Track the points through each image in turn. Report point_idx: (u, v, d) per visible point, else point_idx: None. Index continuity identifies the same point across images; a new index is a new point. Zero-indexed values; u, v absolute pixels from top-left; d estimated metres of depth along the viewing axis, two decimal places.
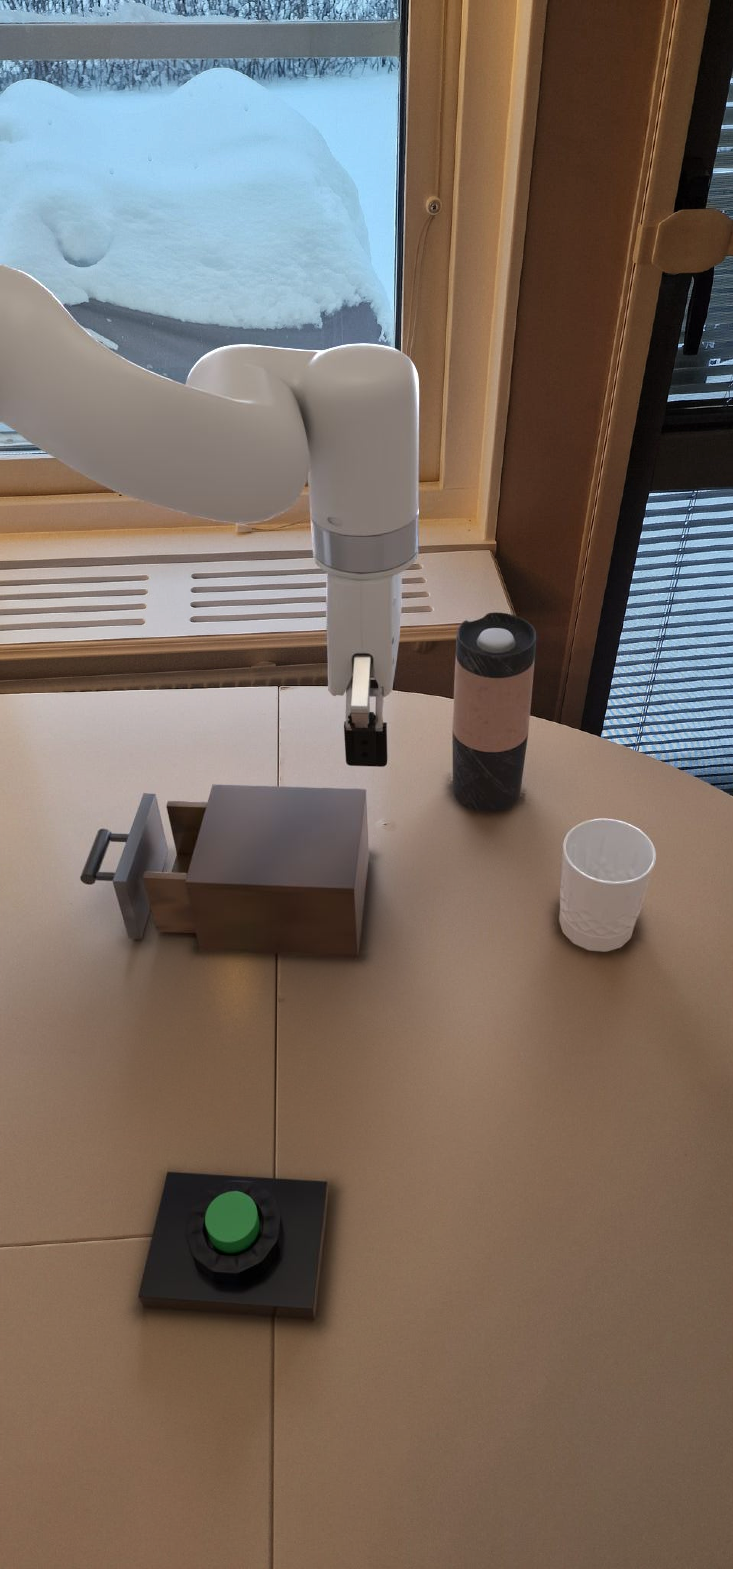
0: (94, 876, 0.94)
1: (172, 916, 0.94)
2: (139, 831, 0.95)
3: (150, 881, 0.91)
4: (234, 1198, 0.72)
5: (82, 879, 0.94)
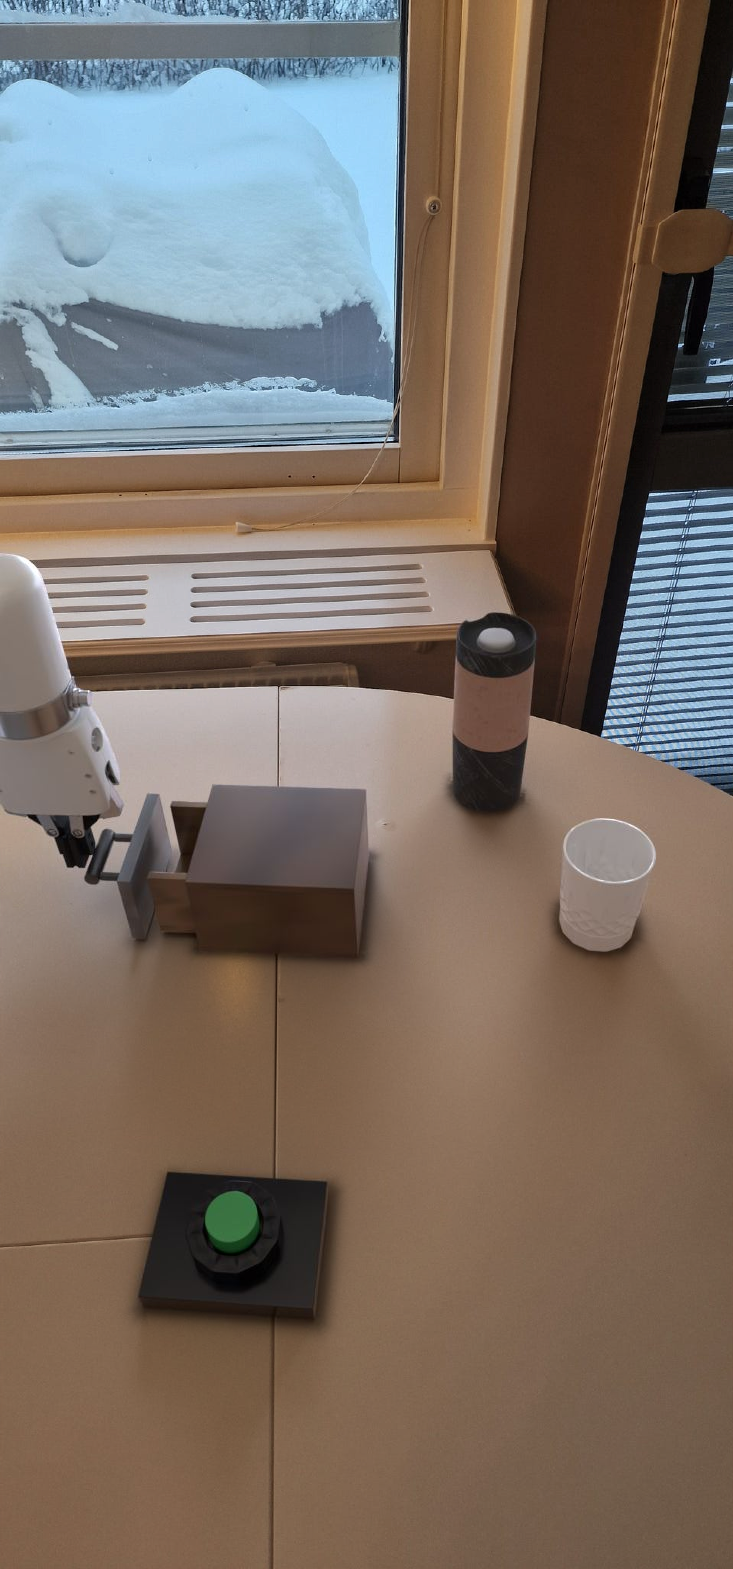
0: (98, 876, 0.94)
1: (176, 916, 0.94)
2: (143, 831, 0.95)
3: (154, 881, 0.91)
4: (234, 1198, 0.72)
5: (86, 879, 0.94)
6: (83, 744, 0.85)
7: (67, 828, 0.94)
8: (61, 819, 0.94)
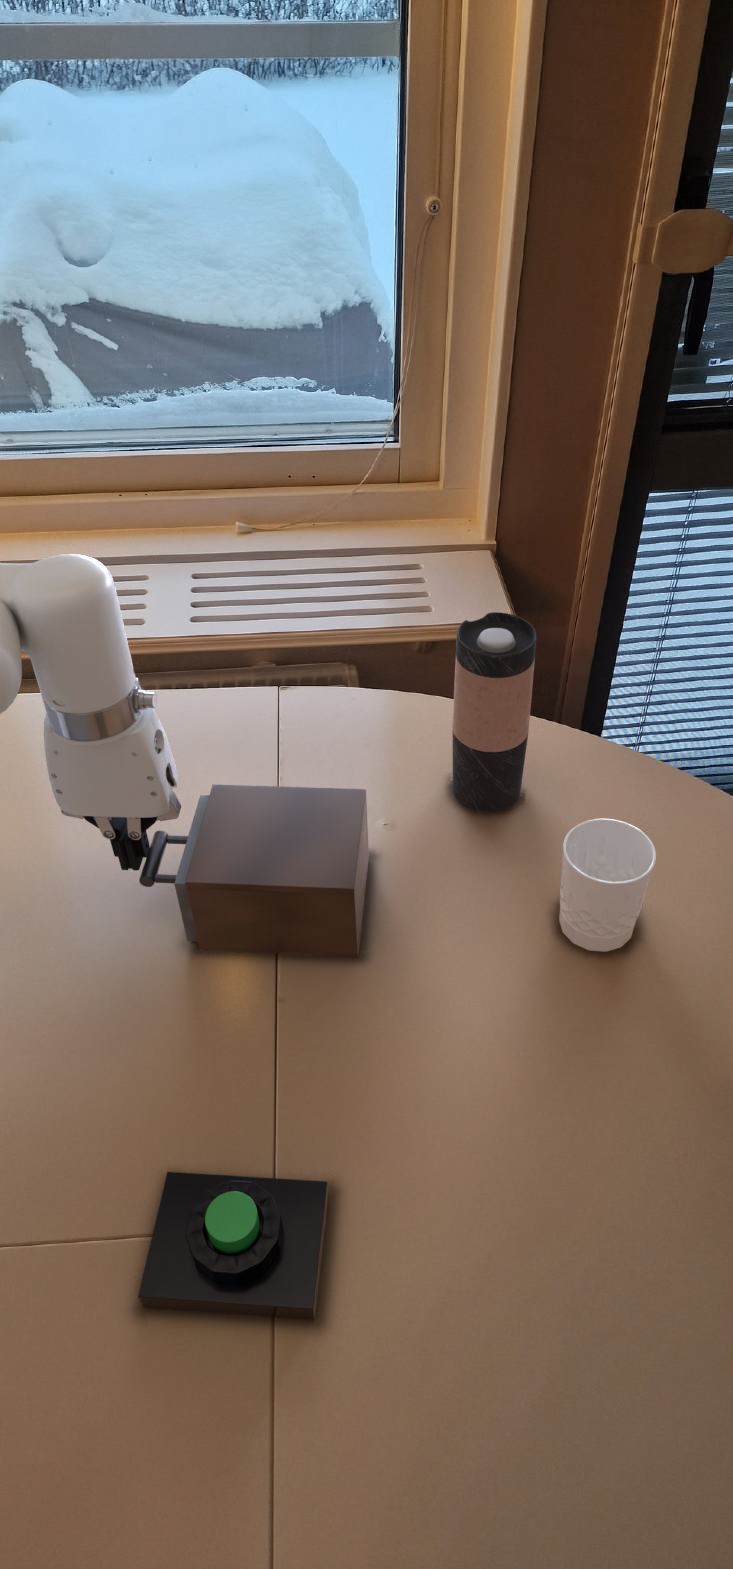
0: (153, 878, 0.94)
1: None
2: (198, 833, 0.94)
3: None
4: (234, 1198, 0.72)
5: (141, 881, 0.94)
6: (146, 746, 0.85)
7: (122, 830, 0.94)
8: (117, 821, 0.94)
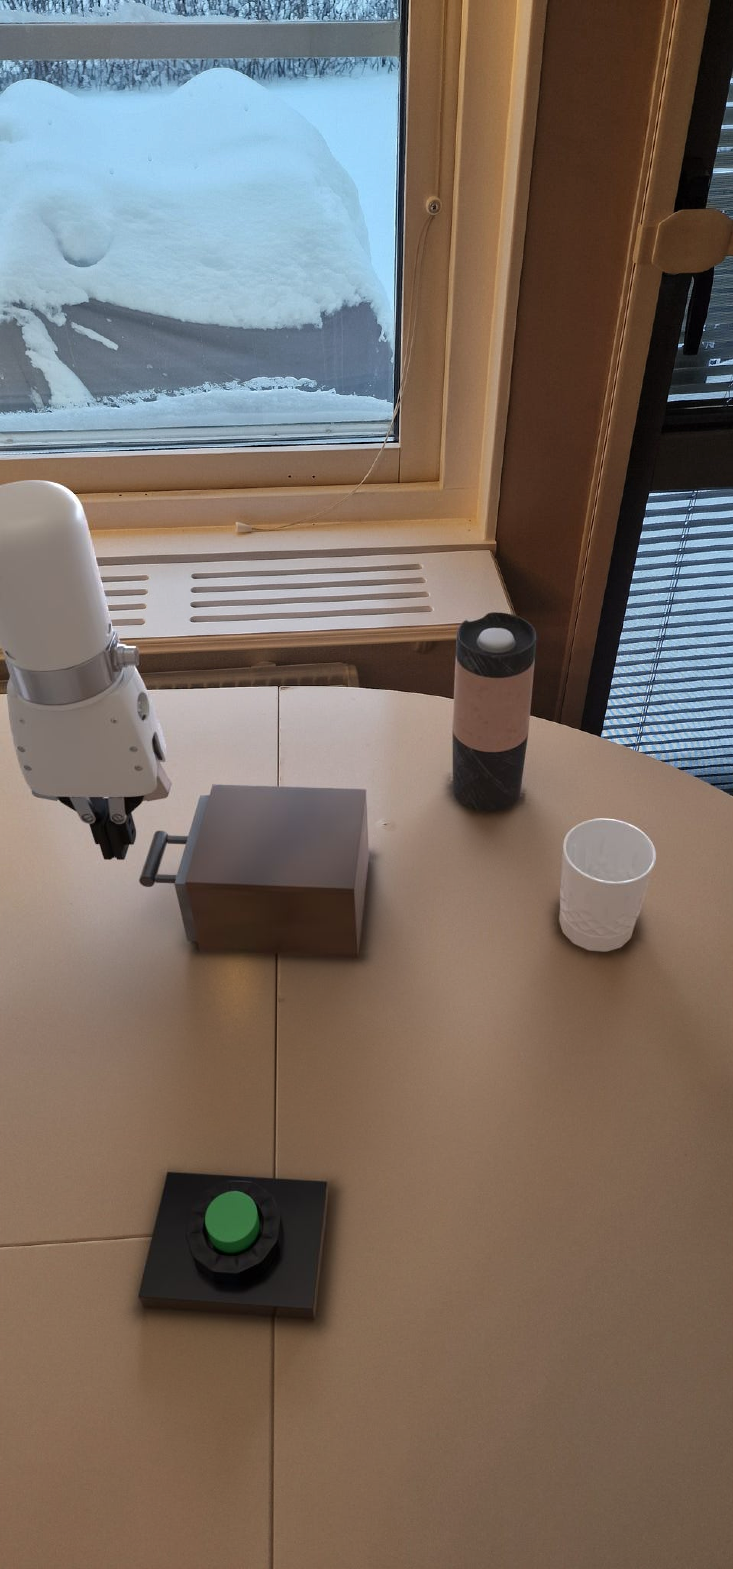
0: (153, 878, 0.94)
1: None
2: (198, 833, 0.94)
3: None
4: (234, 1198, 0.72)
5: (141, 881, 0.94)
6: (128, 711, 0.72)
7: (104, 813, 0.81)
8: (97, 803, 0.81)
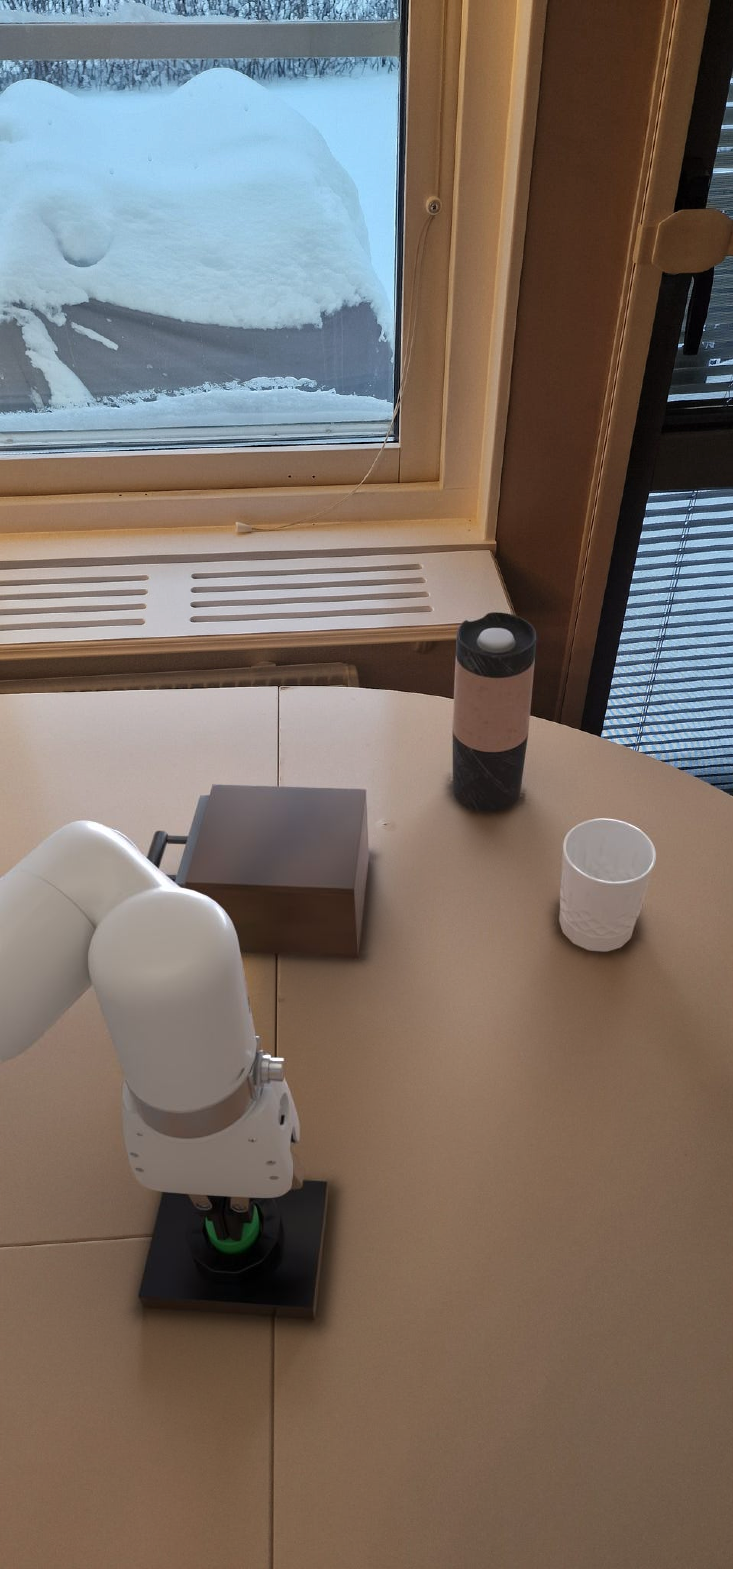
0: None
1: None
2: (198, 833, 0.94)
3: None
4: None
5: None
6: (269, 1129, 0.59)
7: None
8: None
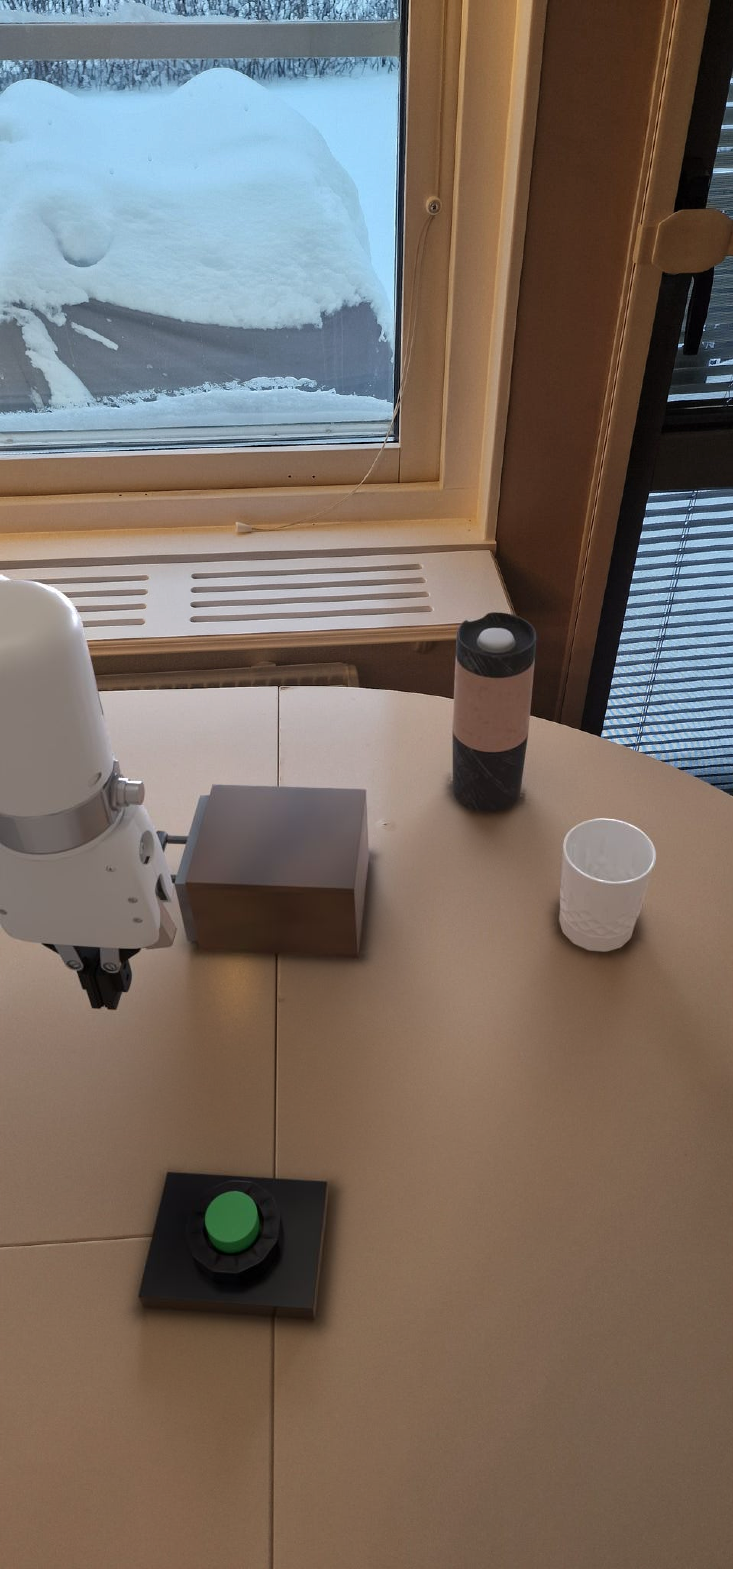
0: None
1: None
2: (198, 833, 0.94)
3: None
4: (234, 1198, 0.72)
5: None
6: (128, 858, 0.58)
7: (94, 957, 0.68)
8: (87, 945, 0.67)
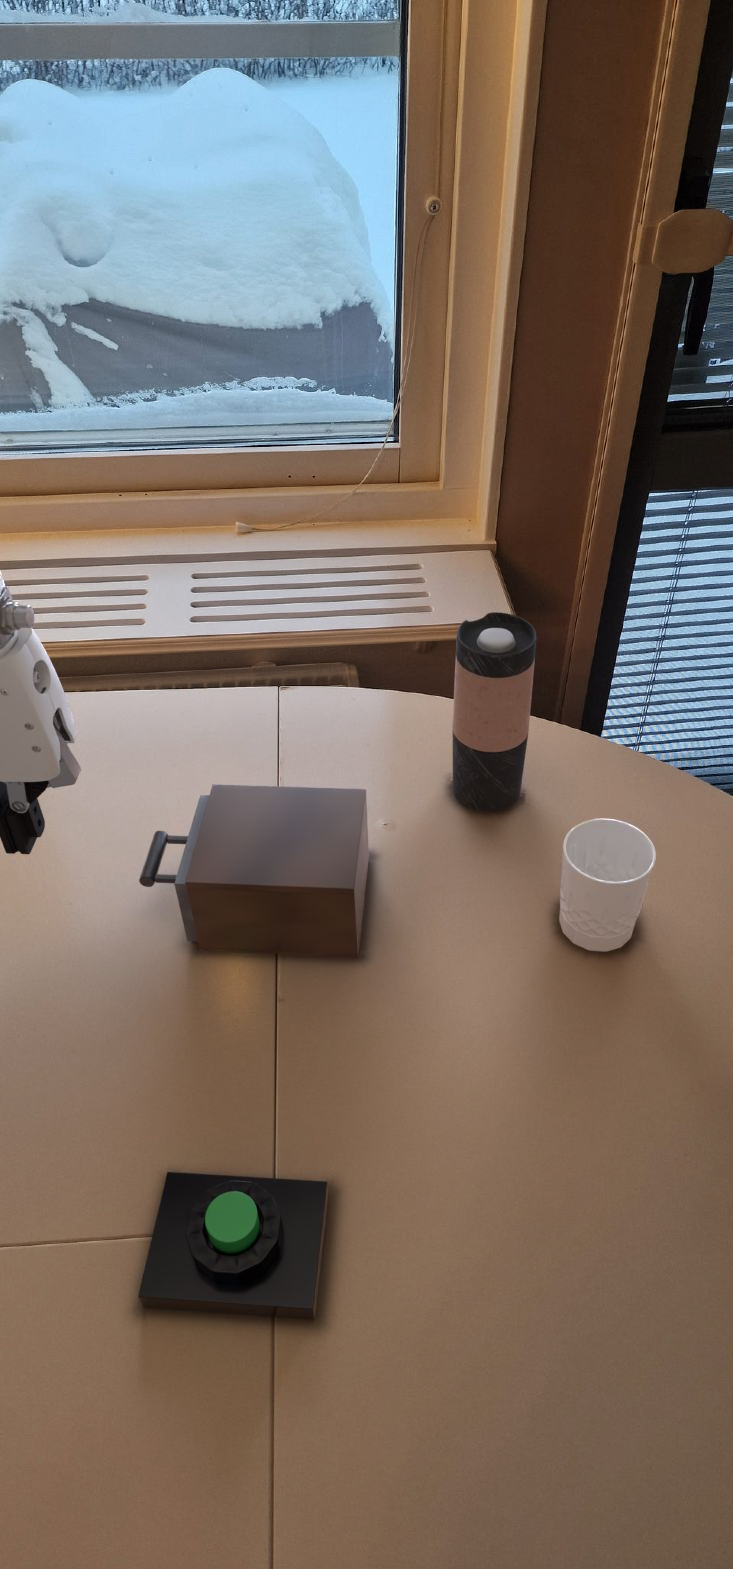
0: (153, 878, 0.94)
1: None
2: (198, 833, 0.94)
3: None
4: (234, 1198, 0.72)
5: (141, 881, 0.94)
6: (21, 681, 0.62)
7: (5, 800, 0.71)
8: None
